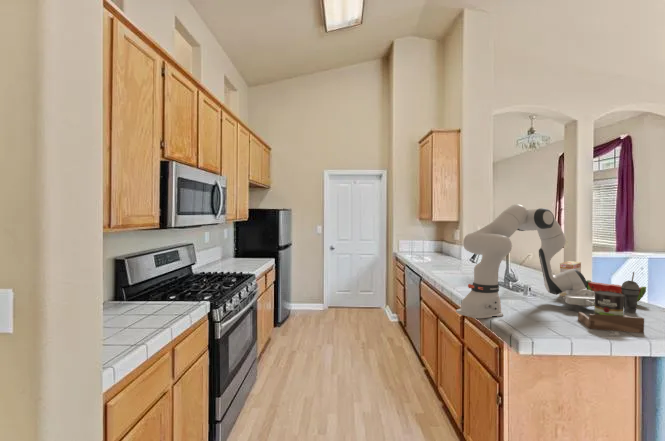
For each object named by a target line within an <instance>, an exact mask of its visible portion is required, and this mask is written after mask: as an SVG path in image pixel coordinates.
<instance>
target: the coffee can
mask: <svg viewBox="0 0 665 441" xmlns="http://www.w3.org/2000/svg"><path fill="white" fill-rule="evenodd" d="M623 305H624V295H623V294H620V293H615V292H608V291H595V306H594V311H593V312H594V313H593V314H599V315H613V316H623V315H624V307H623Z"/></svg>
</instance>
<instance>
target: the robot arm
mask: <svg viewBox="0 0 665 441" xmlns="http://www.w3.org/2000/svg"><path fill="white" fill-rule="evenodd" d="M516 231H519V232H524V231H525V232H526V231H537V234H538V237H539V239H540V241H541V244H540V245H541V246H540V248H539V249H538V256H539V257H538V258H539V262H540V265H541V266H540V267H541V272H542V276H543V283H544V286H545V289H546V291H547V292H548V293H550V294H553V295H555V296H557V295H560V293H562V292H564V291H566V294H567V295H565V296H561V297H562V299H564V301H565V303H566V304H567V305H577V306H580V307H583V308H590V307H595V291H591V290H587V289H586V287H587V282H586V281H587V280H586V278H585V276H584V275H583V273H582V271H581V272H579V271H578V270H576V269H569V270H566V271H564V272H561V273H560V272H558V273H556V274H554V273H553V271H552V266H551V260H552V258H553V257H555V255H556V254H558V253H559V252H560V251H561V250H562V249H563V248H564V247H565V244H566V242H567V240H566V236H565V234H564V231H563V229H562V227H561V225H560V223H559V222H558V221H557V219H556V218H555V217H554V214H553V211H552V210H550V209H549V208H545V207H544V208H543V207H541V208H532V209H527V208H526V207H525V206H524V205H521V204H518V203H516V204H512V205H510V206H509V207H507V208H506V209H504V210H503V211H502V212H501V213H500V214H499V215H498V216H497V217H496V218H495V219H494V220H493V221H491V222H490V223H489V224H487V225H485V226H484V227H482V228H480V229H478V230H476V231H473V232H471V233H468V234H466V235H465V236H464V238H463V241H462V242H463V244H462V245H463V247H464V249H465V251H466V252H469V253H471V254H473V255H474V254H475V255H480V256H482V257H481V260H480V262H479V263H477V264H476V265H475V266H474V268H473V282H472V284H470V283H469V284H468V283H467V288H468V289H471V290H470V292H468V293H467V295H466V296H465V297H463V298H462V300H461V304H460V305H461V306H460V308H458V309H455V312H456V313H457V314H459V315H461V316H465V317H468V318H473V319H474V318H475V319H479V320H480V319H485V318H487V319H488V318H493V317H492V316H497V317H504V312H502V304H501V297H500V295H499V291H500V284H499V271H500V270H499V269H500V267H501V263H502V262H503V260H504V258H505V257H507V256H508V255H509V254H510V253H511V251H512V247H513V245H512V241H511V238H510V237H512V236H513V235H514V234H515V233H516Z"/></svg>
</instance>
